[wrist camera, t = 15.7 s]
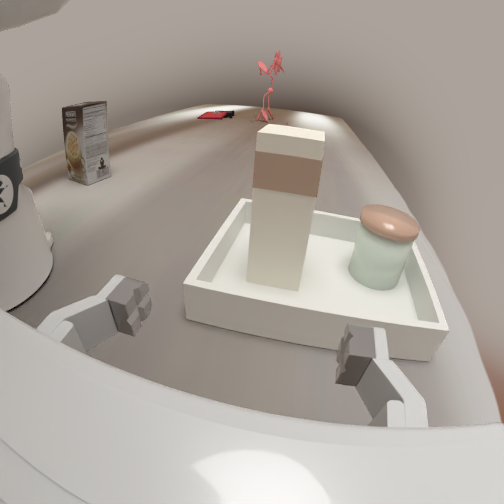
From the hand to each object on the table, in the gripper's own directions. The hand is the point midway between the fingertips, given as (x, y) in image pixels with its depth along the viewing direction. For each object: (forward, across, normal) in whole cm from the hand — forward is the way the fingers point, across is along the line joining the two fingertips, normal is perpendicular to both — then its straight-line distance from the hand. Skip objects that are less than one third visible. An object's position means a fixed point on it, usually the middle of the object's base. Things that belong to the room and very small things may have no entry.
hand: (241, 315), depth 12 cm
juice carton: (+16, 0, +10) cm, 19 cm away
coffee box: (+38, +43, +10) cm, 58 cm away
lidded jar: (+19, -10, +10) cm, 24 cm away
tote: (+18, -4, +11) cm, 21 cm away
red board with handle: (+138, +47, +11) cm, 146 cm away
